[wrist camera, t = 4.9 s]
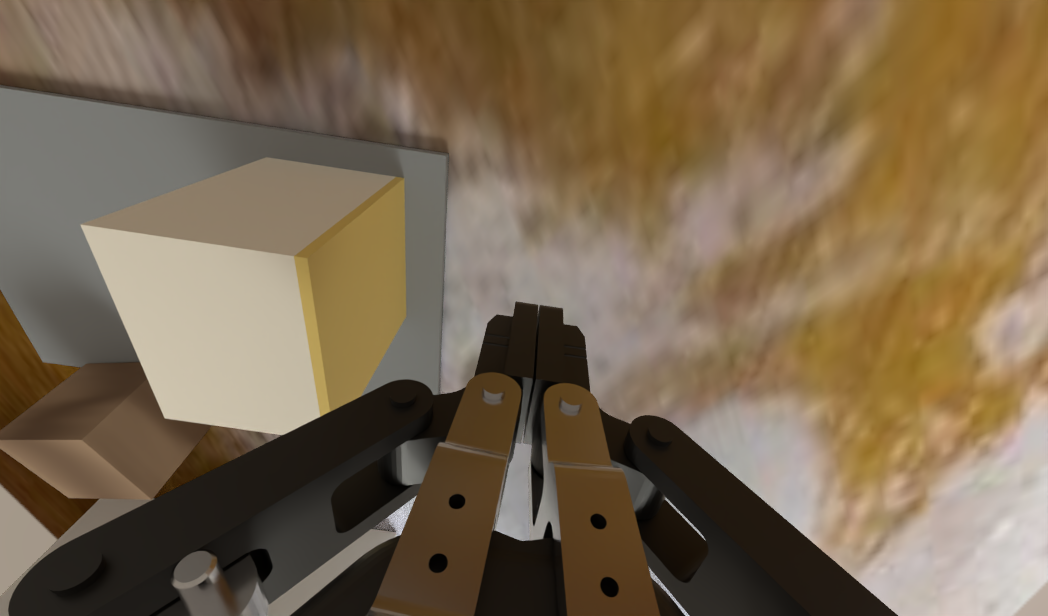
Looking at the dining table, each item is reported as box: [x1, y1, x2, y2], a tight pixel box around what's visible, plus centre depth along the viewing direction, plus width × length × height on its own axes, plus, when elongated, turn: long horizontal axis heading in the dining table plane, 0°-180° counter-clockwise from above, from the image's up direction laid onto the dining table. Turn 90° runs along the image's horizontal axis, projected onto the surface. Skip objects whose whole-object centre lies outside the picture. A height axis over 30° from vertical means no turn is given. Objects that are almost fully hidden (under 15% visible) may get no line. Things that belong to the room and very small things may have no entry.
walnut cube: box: [0, 362, 212, 500], centre depth 20 cm, size 4×4×4 cm
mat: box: [0, 85, 449, 396], centre depth 18 cm, size 20×13×1 cm, turn 82°
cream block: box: [80, 157, 406, 435], centre depth 14 cm, size 5×6×7 cm
